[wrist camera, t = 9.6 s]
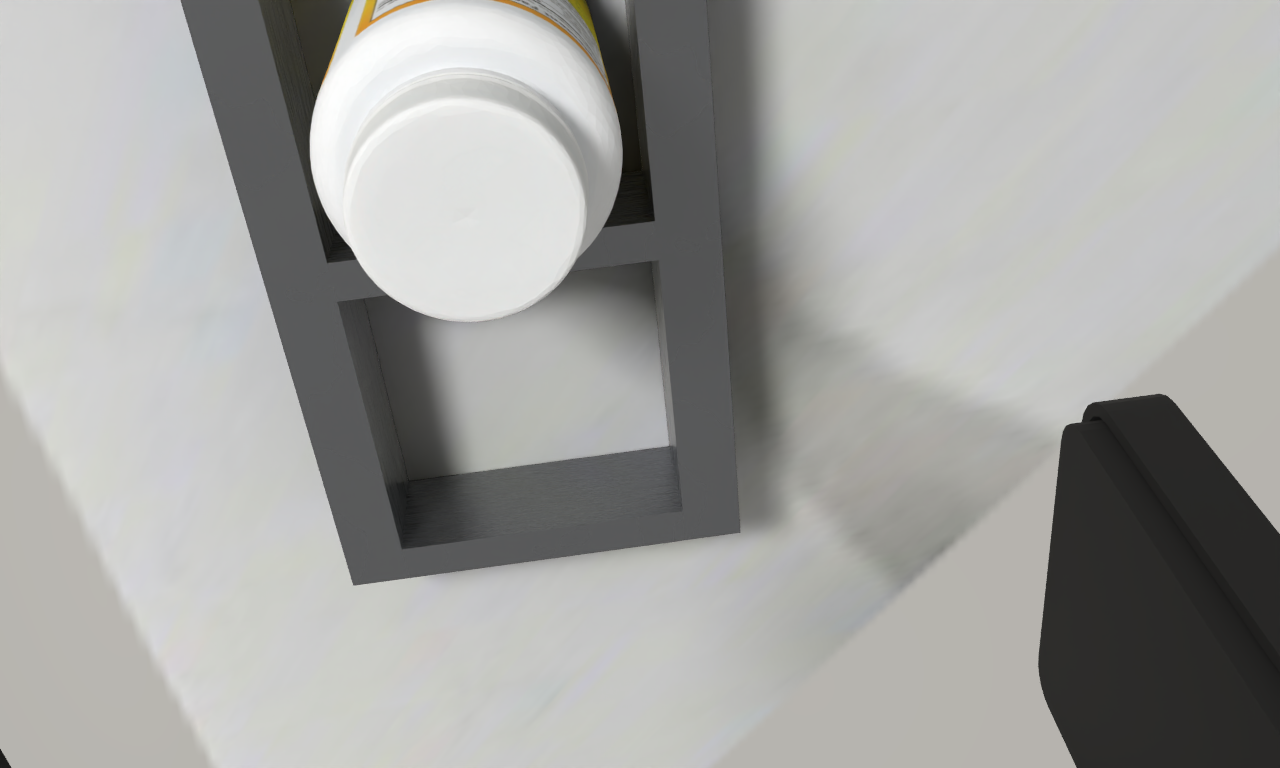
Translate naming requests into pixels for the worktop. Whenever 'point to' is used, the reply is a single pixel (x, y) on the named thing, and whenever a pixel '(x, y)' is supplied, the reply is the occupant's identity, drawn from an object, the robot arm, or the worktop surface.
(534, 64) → the supplement bottle
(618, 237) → the dark grey divided tray
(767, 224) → the worktop surface
